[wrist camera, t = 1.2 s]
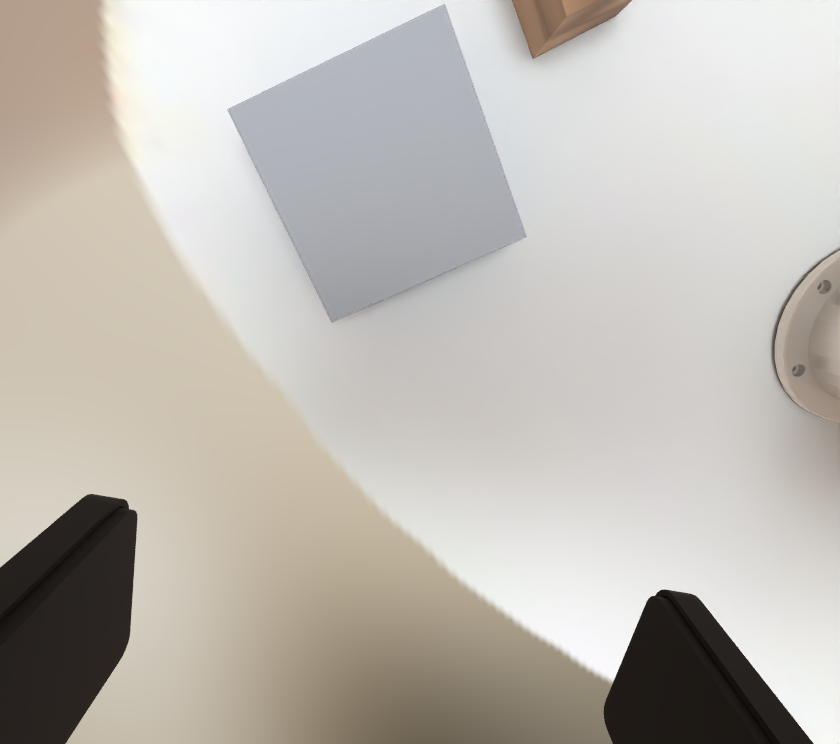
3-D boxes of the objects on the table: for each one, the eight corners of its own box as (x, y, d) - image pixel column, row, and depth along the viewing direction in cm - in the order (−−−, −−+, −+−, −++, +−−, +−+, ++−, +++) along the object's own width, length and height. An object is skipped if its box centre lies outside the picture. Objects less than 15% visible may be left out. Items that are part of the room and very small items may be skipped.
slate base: (435, 49, 28) (444, 4, 22) (503, 234, 31) (526, 236, 25) (261, 132, 29) (227, 109, 23) (344, 305, 32) (331, 322, 26)
